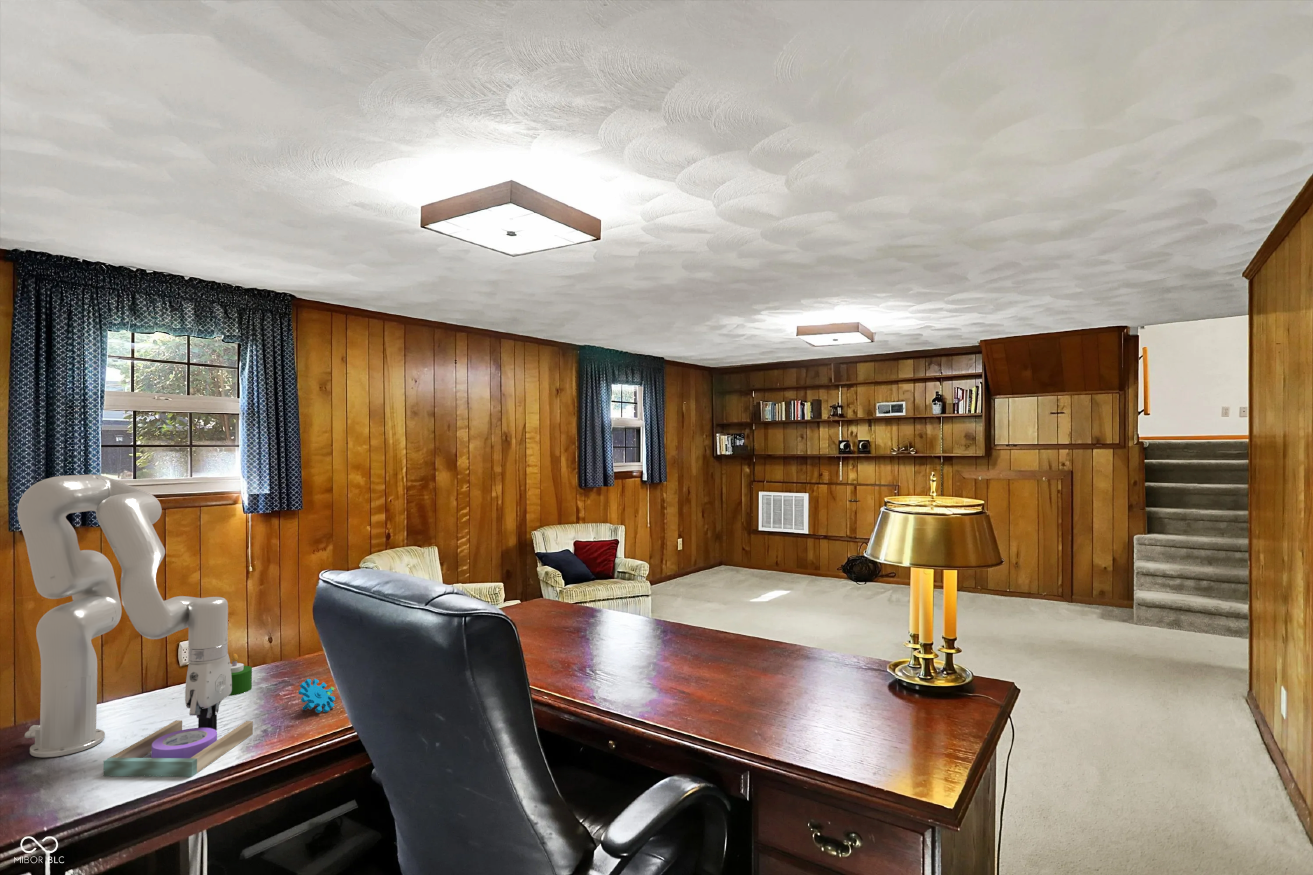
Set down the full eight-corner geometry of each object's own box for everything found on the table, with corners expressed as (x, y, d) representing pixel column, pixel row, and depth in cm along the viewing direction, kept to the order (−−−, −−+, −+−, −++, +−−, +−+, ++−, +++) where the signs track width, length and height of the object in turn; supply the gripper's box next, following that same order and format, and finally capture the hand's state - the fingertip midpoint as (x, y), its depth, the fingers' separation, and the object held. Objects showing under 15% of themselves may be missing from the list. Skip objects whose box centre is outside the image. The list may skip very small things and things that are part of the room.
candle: (210, 696, 181) (211, 659, 181) (223, 686, 189) (224, 650, 189) (244, 694, 183) (245, 657, 183) (256, 684, 191) (256, 648, 191)
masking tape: (166, 746, 152) (166, 729, 152) (225, 741, 154) (225, 724, 154) (140, 770, 140) (140, 752, 140) (204, 764, 143) (204, 746, 143)
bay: (103, 775, 138) (103, 760, 138) (175, 733, 158) (175, 720, 158) (191, 776, 137) (192, 761, 137) (252, 733, 158) (252, 721, 158)
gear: (315, 713, 166) (295, 680, 169) (299, 729, 167) (279, 696, 170) (346, 703, 177) (326, 672, 180) (331, 718, 177) (311, 687, 180)
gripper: (203, 662, 148) (202, 747, 148) (244, 643, 163) (243, 720, 163) (168, 663, 148) (167, 747, 148) (212, 643, 163) (212, 720, 163)
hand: (207, 733), depth 155 cm, fingers closed
